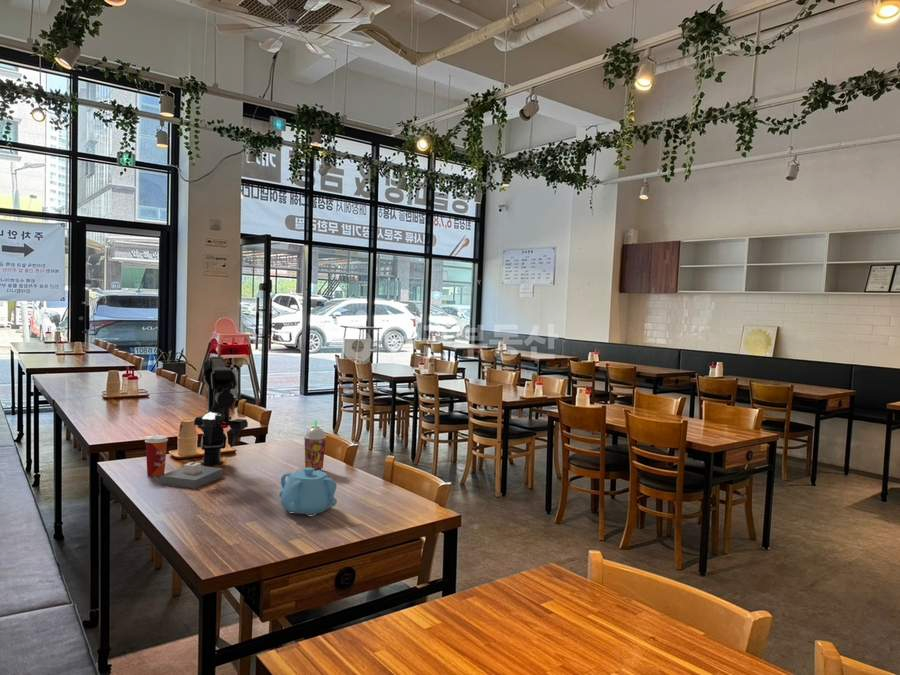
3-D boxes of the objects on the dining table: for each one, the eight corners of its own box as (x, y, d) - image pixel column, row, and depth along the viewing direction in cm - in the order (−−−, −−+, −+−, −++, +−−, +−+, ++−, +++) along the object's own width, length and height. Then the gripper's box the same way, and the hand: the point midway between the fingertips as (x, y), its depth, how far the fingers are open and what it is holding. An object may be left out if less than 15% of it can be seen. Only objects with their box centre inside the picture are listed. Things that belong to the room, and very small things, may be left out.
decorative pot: (328, 500, 203) (329, 460, 203) (338, 516, 188) (340, 473, 188) (278, 504, 197) (279, 463, 196) (284, 521, 182) (286, 476, 181)
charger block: (190, 478, 220) (191, 461, 220) (200, 479, 219) (200, 462, 219) (183, 481, 216) (184, 464, 216) (193, 482, 215) (193, 465, 215)
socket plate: (189, 472, 227) (189, 464, 227) (222, 476, 224) (222, 468, 224) (159, 484, 212) (160, 475, 211) (195, 488, 208) (195, 480, 208)
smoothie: (301, 468, 239) (302, 418, 238) (322, 467, 243) (324, 418, 242) (305, 474, 232) (307, 422, 231) (327, 473, 235) (329, 422, 234)
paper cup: (161, 478, 218) (161, 439, 218) (139, 477, 219) (140, 438, 218) (171, 472, 226) (172, 435, 226) (150, 471, 226) (151, 434, 226)
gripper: (184, 404, 215) (183, 447, 216) (231, 408, 211) (230, 453, 212) (204, 400, 226) (203, 441, 227) (249, 404, 222) (247, 446, 222)
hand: (220, 445), depth 221 cm, fingers open, 9 cm apart
